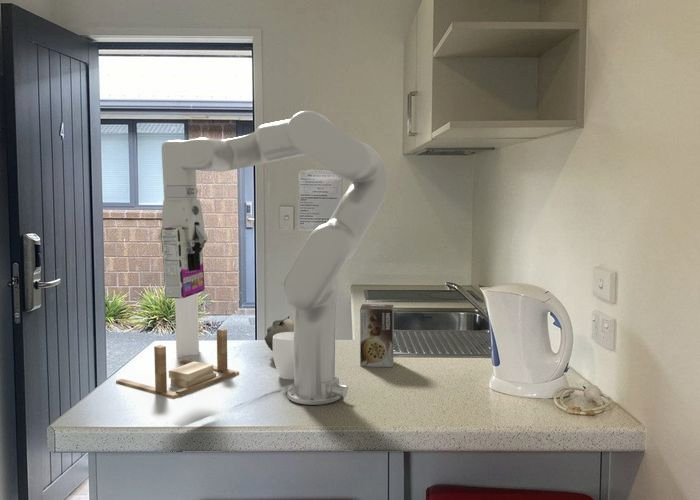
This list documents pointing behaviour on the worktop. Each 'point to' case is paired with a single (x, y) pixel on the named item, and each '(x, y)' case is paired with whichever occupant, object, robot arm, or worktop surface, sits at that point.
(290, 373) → the mug
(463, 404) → the worktop surface
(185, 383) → the offcut middle
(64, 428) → the worktop surface
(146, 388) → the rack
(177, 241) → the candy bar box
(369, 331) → the cookie box
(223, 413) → the worktop surface
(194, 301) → the milk
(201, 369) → the offcut top
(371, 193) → the robot arm
